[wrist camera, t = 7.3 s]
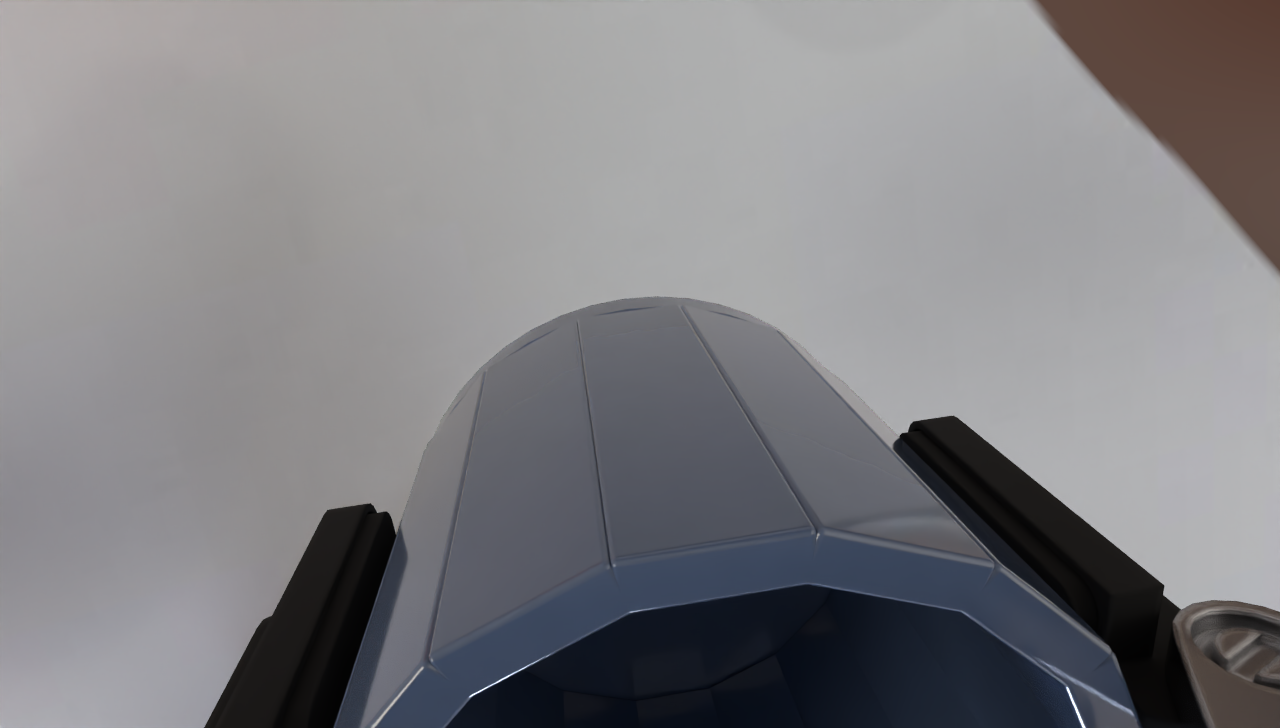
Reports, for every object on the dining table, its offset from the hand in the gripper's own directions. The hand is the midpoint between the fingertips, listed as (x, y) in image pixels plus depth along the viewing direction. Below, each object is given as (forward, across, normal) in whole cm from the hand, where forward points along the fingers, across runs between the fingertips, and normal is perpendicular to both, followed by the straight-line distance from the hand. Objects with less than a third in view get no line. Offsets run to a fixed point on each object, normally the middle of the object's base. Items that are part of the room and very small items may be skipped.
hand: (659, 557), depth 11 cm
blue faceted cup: (+1, 0, 0) cm, 1 cm away
